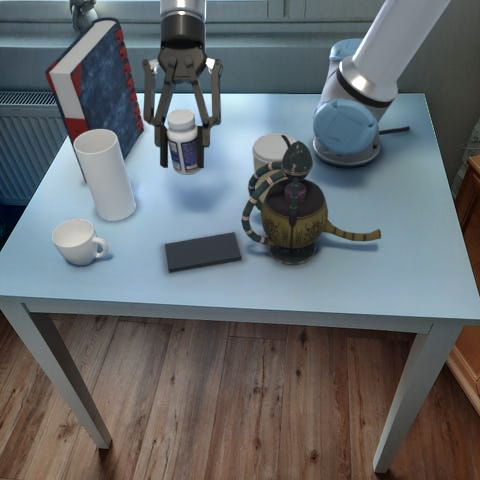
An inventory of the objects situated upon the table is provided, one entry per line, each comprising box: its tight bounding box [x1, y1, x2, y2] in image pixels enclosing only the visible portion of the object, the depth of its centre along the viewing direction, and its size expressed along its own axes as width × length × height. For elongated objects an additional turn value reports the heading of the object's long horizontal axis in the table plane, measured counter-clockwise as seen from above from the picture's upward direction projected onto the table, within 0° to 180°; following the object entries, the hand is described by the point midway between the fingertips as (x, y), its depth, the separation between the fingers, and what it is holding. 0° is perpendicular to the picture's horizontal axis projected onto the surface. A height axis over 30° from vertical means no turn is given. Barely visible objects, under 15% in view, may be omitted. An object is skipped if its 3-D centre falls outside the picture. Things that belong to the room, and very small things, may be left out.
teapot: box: [240, 135, 382, 266], centre depth 82 cm, size 12×25×23 cm, turn 82°
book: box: [44, 16, 145, 184], centre depth 104 cm, size 25×7×25 cm, turn 167°
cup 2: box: [51, 218, 109, 266], centre depth 89 cm, size 8×10×7 cm
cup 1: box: [74, 129, 137, 222], centre depth 95 cm, size 8×8×16 cm
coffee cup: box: [251, 132, 298, 203], centre depth 97 cm, size 9×9×12 cm
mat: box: [164, 231, 242, 274], centre depth 91 cm, size 14×7×1 cm, turn 101°
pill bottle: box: [166, 108, 203, 176], centre depth 83 cm, size 6×6×10 cm
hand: (182, 166), depth 82 cm, fingers closed on pill bottle, 6 cm apart
